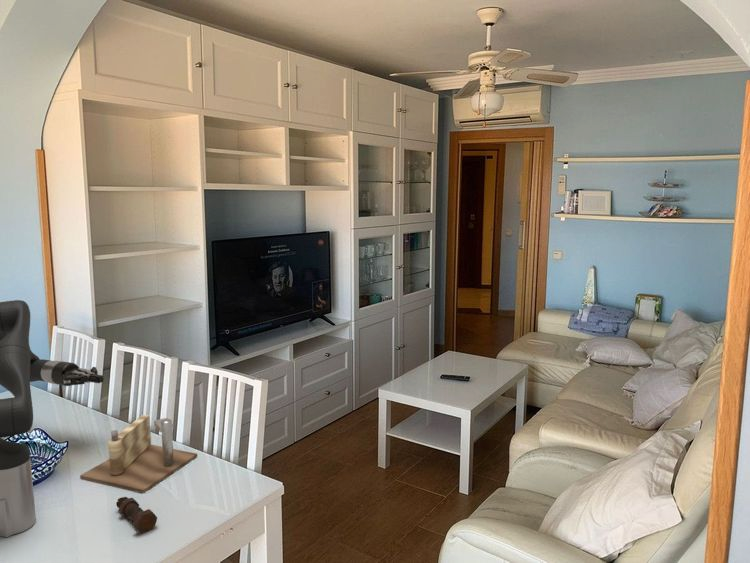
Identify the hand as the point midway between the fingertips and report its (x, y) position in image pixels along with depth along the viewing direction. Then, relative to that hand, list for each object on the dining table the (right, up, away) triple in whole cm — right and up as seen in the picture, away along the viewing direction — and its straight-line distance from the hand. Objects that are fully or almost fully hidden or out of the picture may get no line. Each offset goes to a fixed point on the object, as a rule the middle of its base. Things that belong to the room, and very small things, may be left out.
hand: (101, 379), depth 185 cm
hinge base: (+15, -26, -7) cm, 31 cm away
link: (+11, -24, -4) cm, 27 cm away
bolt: (+25, -31, -34) cm, 52 cm away
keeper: (+22, -24, -5) cm, 34 cm away
